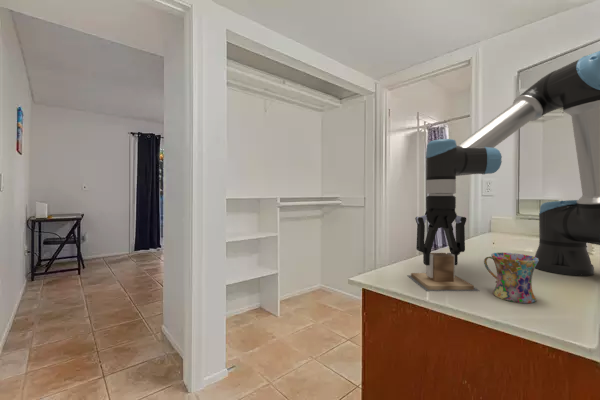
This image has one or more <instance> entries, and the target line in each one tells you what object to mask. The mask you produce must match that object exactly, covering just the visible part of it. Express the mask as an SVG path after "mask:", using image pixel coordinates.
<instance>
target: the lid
mask: <svg viewBox="0 0 600 400" xmlns="http://www.w3.org/2000/svg"><path fill="white" fill-rule="evenodd" d="M430 254H433V278H430V277H428V276H427V275H426V272H416V273H415V272H412V273H410V275H411V277H413V278H414V279H415V280H416V281H418V282H419V283H420V284H422V285H423V286H424V287H425V288H427V289H428V290H474V288H475V286H474V285H473V284H471V283H469V282H468V281H467V280H464V279H462V278H461V277H458V276H457V275H455V278H454V256H451V255H449V254H447V253H446V252H431V253H430Z"/></svg>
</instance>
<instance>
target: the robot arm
mask: <svg viewBox="0 0 600 400" xmlns="http://www.w3.org/2000/svg"><path fill="white" fill-rule="evenodd" d="M560 109H562V110H563V112H564V113H565V114H567V115H570V116H571V123H572V128H573V131H572V132H573V137H574V143H575V150H576V159H577V165H578V172H579V180H580V187H581V188H580V189H581V193H582V195H581V197H580V198H578V199H570V200H569V199H568V200H555V201H546V202H543V203H542V204H541V205H540V206H539V213H538V215H539V216H538V217H539V218H538V220H539V222H538V225H539V227H538V228H539V234H538V235H539V236H538V238H539V241H538V247H537V249H536V251H535V255H534V257H536V258H538V259H539V261H538V263H537V265H536V266H535V269H537V270H540V271H544V272H550V273H555V274H560V275H565V276H566V275H567V276H568V275H569V276H586V277H587V276H593V275H594V274H595V267H594V264H592V261H591V258H590V255H589V252H588V250H587V244H592V245H598V246H600V50H599V51H596V52H593V53H591V54H589V55H584V56H582V57H581V58H579V59H577V60H575V61H573V62H571V63H568V64H567V65H565V66H562V67H560V68H559V69H556V70H553V71H551V72H549V73H548V74H546V75H545V76H543V77H541V78H540V79H539V80H537V81H536V82H535V83H534V84H532V85H531V86H530V87H528V88H527V89H526V90H525V91H523V92H522V93H521V94H520V95H518V96H516V98H514V100H513V102H512V104H511V105H510V106H508V108H506V109H504V110H503V111H501V113H499V114H498V115H496V116H495V117H493V118H492V119H491V120H490V121H489V122H488V123H485V125H483V126H481V127H480V128H479V129H478V130H477V131H475V132H474V133H472V134H471V135H469V136H468V137H467V138H466V139H464V140H462V142H461V143H459V144H458V145H457V141H456V140H455V139H452V138H440V139H434V140H431V141H429V142H428V143H427V145H426V154H425V159H426V160H425V162H426V170H425V171H426V178H425V179H426V181H425V182H426V183H425V185H426V186H425V187H426V188H425V189H426V190H425V192H426V194H427V195H426V198H425V201H426V202H425V210H426V211H425V213H424V214H423V215H421V216H416V217H415V218H414V219H415V222H416V250H417V251H418V252H419V253H422V255H423V257H422V259H423V261H422V262H423V264H424V265H425V266H426V267H425V268H426V270H425V271H426V272H425V273H426V275H427V276H428V277H430V278H433V254H430V253H432V249H433V245H434V242H435V238H436V236H437V235H436V234H437V232H438V231H439V229H442V230H443V231H444V235H445V239H446V242H447V246H448V250H449V252H447V253H446V254H449V255H451V256H454V278H455V276H456V275H455V273H456V272H455V271H456V270H455V269H456V266H457V265H458V258H459V257H458V256H459V255H461V253H465V251H466V240H465V239H466V238H465V237H466V236H465V235H466V233H465V232H466V231H465V228H466V227H465V225H466V222H467V217H466V216H460V215H457V212H456V209H457V205H456V204H457V202H456V201H457V197H456V196H455V194H456V193H457V182H456V181H457V180H456V179H457V177H458V176H460V177H461V176H469V175H487V174H488V175H491V174H494V173H496V172H497V171H499V169H500V168H501V165H502V162H503V161H502V157H503V156H502V153H501V151H500V150H499V149H498V148H496V146H499V145H500V144H501V143H502V142H503V141H505V140H507V139H508V138H509V137H510V136H512V135H513V134H515V133H516V132H517V131H519V130H520V129H521V128H522V127H524V126H525V125H526V124H528V123H529V122H533V121H537V120H538V119H540V118H541V117H542V116H544V115H546V114H548V113H551V112H553V111H554V112H555V111H556V110H560ZM426 221H427V222H428V227H427V229H428V230H427V234H426V225H425V223H427V222H426ZM453 222H455V232H454V227H453ZM454 233H455V234H454ZM425 235H426V237H425Z"/></svg>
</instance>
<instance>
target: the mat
mask: <svg viewBox="0 0 600 400" xmlns="http://www.w3.org/2000/svg"><path fill="white" fill-rule="evenodd" d="M406 277H408V278H409V279H410V280H411V281H413V282H414V283H415V284H417V286H419V287H420V288H421V289H423V290H424V291H425V292H480V290H479V289H478V288H476V287H474V290H428V289H427V288H425V287H424V286H423V285H422V284H420V283H419V282H418V281H416V280H415V279H414V278H413V277H411V274H410V275H407V274H406Z"/></svg>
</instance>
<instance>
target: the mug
mask: <svg viewBox="0 0 600 400" xmlns="http://www.w3.org/2000/svg"><path fill="white" fill-rule="evenodd" d="M488 259H491V260H493V262H494V263H493V264H494V265H495V268H496V274H494V273H493V272H492V270H491V269H490V268H489V266H488V262H487V260H488ZM538 261H539V259H538V258H536V257H535V256H532V255H530V254H529V255H528V254H524V253H516V252H515V253H513V252H492V253H491V256H487V257H485V258H484V260H483V263H484V267H485V268H486V270H487V272H489V274H490V275H491V276H492V277H493V278H494V279H496V281H495V283H496V284H495V287H494V288H493V290H492V294H493V295H494V296H495V297H497V298H498V299H499V300H504V301H507V302H511V303H515V304H516V303H517V304H534V303H535V302H536V301H537V298H536V296H535V294H534V291H533V286H532V281H533V280H532V279H533V275H534V271H535V269H536V268H535V266H536V265H537V263H538Z"/></svg>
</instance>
